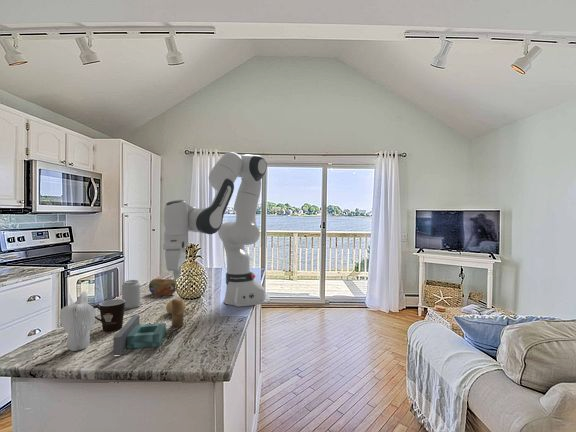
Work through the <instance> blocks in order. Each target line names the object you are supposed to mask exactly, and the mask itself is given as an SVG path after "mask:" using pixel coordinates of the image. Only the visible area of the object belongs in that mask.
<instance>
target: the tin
mask: <svg viewBox="0 0 576 432" xmlns="http://www.w3.org/2000/svg"><path fill="white" fill-rule="evenodd" d="M175 283H176V281H175V279H174V280H173V278H172V279H171V278H154V279H152V280H150V282H149V285H148V289H149V292H150V293H151V294H152V295H153V296H154V295H155V296H171V295H173V294H175V292H176V290H177V287H176V288H175Z"/></svg>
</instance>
